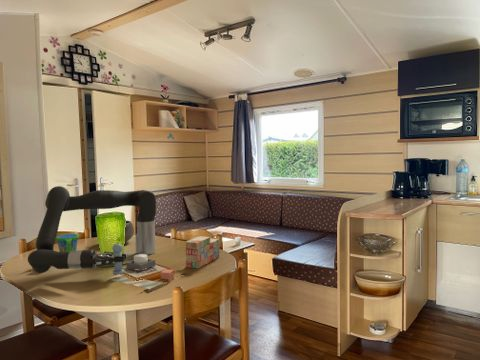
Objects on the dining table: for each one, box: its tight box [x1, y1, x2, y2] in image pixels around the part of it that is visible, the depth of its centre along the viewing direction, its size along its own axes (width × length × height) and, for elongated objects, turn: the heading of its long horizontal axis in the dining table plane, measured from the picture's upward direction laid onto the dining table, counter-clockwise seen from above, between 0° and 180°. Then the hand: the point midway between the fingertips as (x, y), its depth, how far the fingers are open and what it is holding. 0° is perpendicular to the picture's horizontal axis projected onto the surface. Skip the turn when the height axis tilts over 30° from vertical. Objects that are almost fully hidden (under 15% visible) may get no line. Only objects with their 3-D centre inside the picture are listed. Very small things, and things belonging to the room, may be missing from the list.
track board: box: [107, 274, 164, 293], centre depth 151 cm, size 24×8×1 cm, turn 60°
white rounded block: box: [133, 253, 149, 264], centre depth 169 cm, size 6×6×5 cm
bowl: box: [125, 220, 135, 243], centre depth 221 cm, size 18×18×13 cm
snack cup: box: [55, 233, 80, 252], centre depth 195 cm, size 16×10×10 cm
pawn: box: [111, 243, 125, 276], centre depth 155 cm, size 4×4×12 cm
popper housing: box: [125, 258, 156, 270], centre depth 170 cm, size 9×9×4 cm
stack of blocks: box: [185, 235, 220, 269], centre depth 181 cm, size 21×6×12 cm, turn 155°
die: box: [160, 268, 175, 283], centre depth 155 cm, size 4×4×4 cm
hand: (124, 257), depth 155 cm, fingers closed on pawn, 3 cm apart
